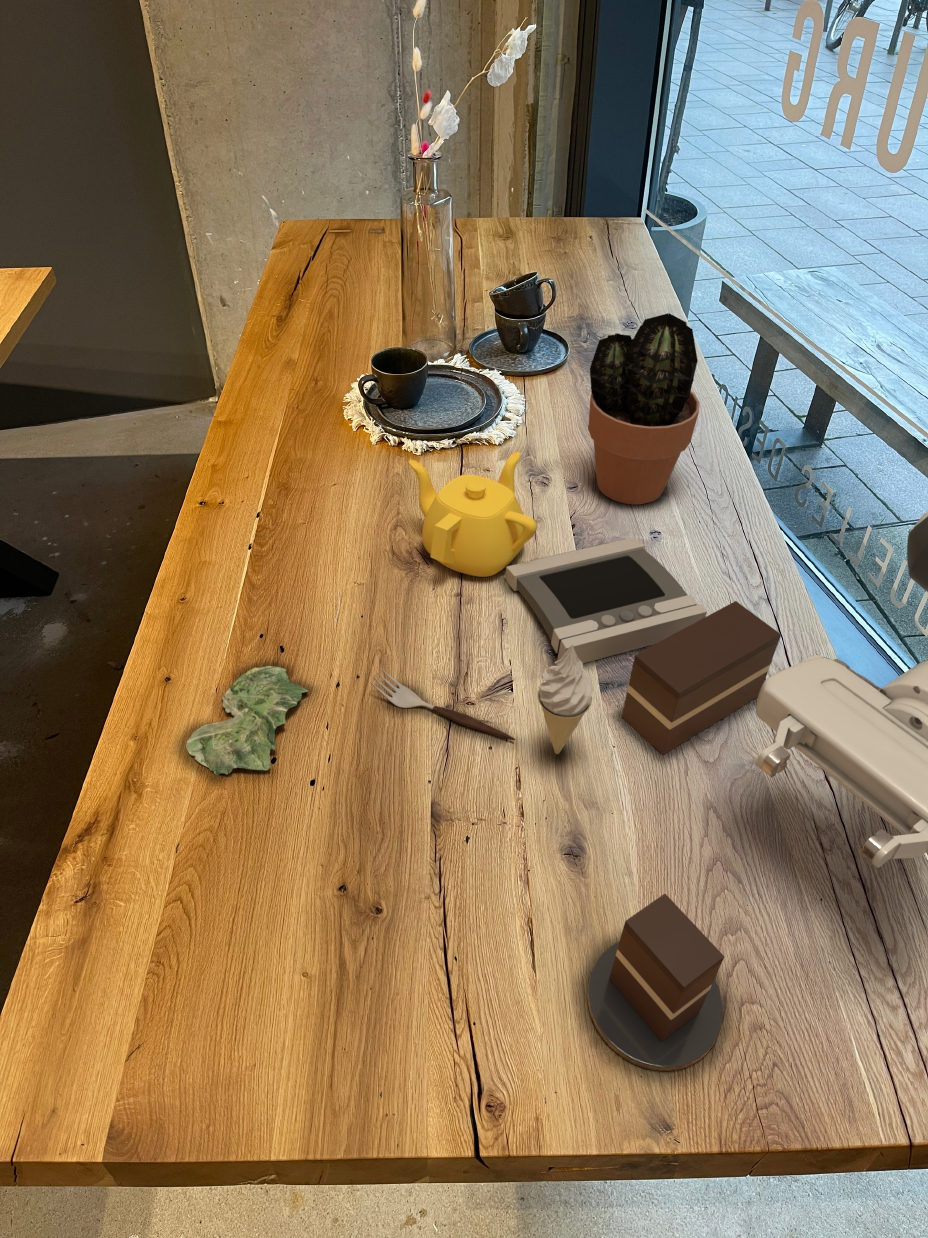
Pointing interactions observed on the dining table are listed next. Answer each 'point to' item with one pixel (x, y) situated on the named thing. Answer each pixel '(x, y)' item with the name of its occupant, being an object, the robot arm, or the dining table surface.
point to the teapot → (473, 521)
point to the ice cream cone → (565, 697)
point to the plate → (635, 1036)
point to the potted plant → (642, 407)
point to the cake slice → (664, 966)
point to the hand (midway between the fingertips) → (815, 808)
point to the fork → (433, 707)
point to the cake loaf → (698, 676)
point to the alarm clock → (604, 599)
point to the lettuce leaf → (247, 722)
